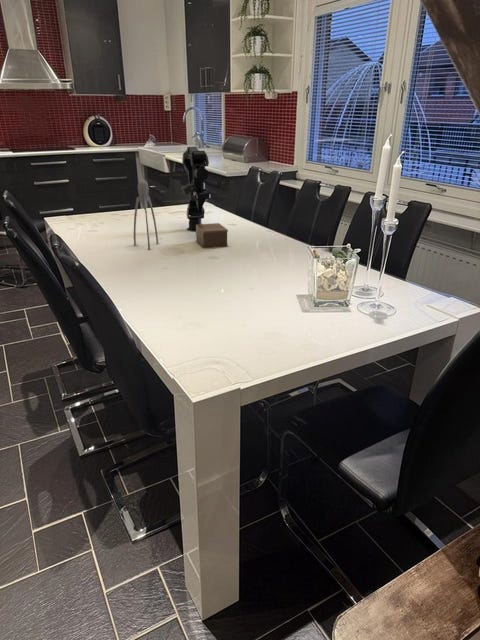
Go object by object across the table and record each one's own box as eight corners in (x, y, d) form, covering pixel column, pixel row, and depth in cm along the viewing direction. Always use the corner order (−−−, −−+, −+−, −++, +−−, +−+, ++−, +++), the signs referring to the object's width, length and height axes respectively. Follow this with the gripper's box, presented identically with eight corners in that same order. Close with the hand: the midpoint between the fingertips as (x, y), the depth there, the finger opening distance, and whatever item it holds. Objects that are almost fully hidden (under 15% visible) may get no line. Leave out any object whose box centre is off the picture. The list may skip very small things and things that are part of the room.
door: (227, 231, 217) (227, 229, 216) (203, 233, 213) (203, 231, 213) (218, 224, 229) (218, 223, 229) (195, 226, 225) (195, 224, 225)
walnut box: (227, 246, 220) (227, 231, 217) (203, 248, 217) (203, 232, 214) (218, 239, 232) (218, 224, 229) (196, 241, 228) (195, 226, 226)
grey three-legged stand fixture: (149, 249, 213) (144, 182, 201) (129, 248, 215) (123, 181, 203) (158, 243, 223) (154, 178, 211) (139, 242, 225) (133, 177, 213)
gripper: (178, 176, 231) (179, 208, 238) (187, 181, 215) (188, 215, 222) (200, 175, 235) (200, 206, 241) (210, 180, 219) (210, 213, 225)
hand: (199, 210), depth 232 cm, fingers closed
